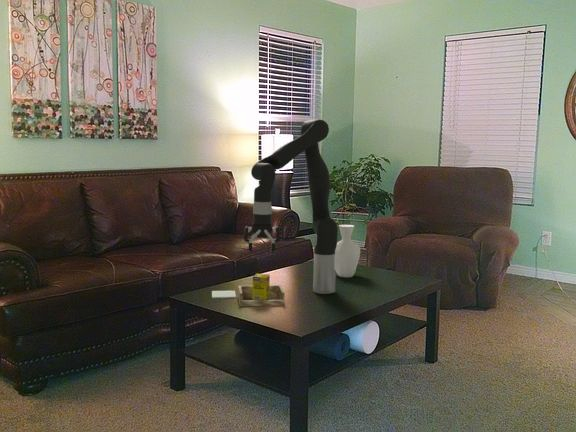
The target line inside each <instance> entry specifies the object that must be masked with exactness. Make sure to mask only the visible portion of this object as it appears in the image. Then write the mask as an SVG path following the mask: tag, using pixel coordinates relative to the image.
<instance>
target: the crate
mask: <svg viewBox="0 0 576 432" xmlns="http://www.w3.org/2000/svg"><path fill="white" fill-rule="evenodd" d="M237 288H238V289H237V290H238V295H237V296H238V303H239V307H262V306H263V305H264V306H265V307H266V306H267V307H268V306H285V303H286V302H285V301H286V300H285V293H286V292H285V291H284V288H283V286H282V285H281V284H275V285H274V284H272V285H271V284H269V298H278V299H269V300H252V293H253V285H238V287H237ZM247 298H248V300H246V299H247ZM243 299H245V300H243ZM249 299H251V300H249Z"/></svg>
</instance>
